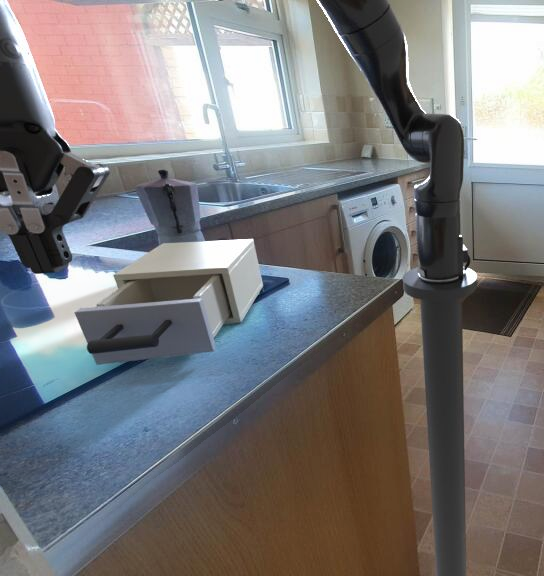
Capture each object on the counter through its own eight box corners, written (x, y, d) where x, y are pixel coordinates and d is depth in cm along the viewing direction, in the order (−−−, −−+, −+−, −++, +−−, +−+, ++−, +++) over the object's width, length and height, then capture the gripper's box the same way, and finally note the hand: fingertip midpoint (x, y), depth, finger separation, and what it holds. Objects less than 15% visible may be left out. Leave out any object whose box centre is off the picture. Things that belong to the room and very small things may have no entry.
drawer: (197, 375, 50) (181, 321, 47) (66, 392, 46) (39, 335, 43) (242, 306, 68) (232, 264, 65) (150, 314, 64) (135, 270, 61)
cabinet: (241, 322, 65) (227, 267, 61) (134, 333, 60) (112, 274, 57) (263, 285, 78) (253, 239, 75) (177, 292, 74) (162, 243, 71)
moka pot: (210, 255, 93) (186, 165, 86) (227, 274, 83) (201, 173, 75) (157, 264, 87) (126, 167, 79) (167, 285, 77) (133, 176, 69)
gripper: (98, 67, 36) (157, 253, 43) (-112, 55, 32) (-11, 262, 39) (38, 57, 30) (119, 279, 36) (-234, 40, 26) (-88, 293, 32)
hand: (51, 270), depth 38 cm, fingers closed
